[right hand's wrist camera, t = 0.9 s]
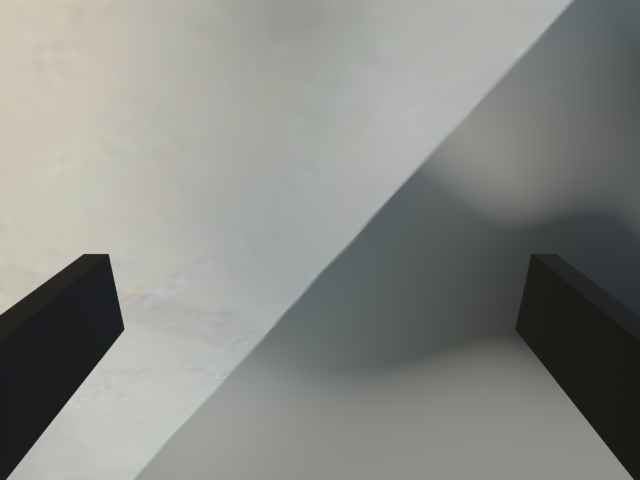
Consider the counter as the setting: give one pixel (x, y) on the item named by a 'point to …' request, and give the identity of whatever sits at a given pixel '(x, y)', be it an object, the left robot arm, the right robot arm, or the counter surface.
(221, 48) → the counter surface
